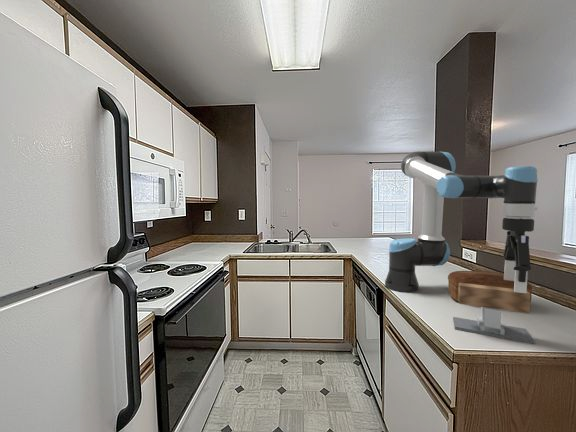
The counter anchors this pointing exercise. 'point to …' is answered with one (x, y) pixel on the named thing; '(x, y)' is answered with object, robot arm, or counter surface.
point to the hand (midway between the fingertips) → (514, 285)
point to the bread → (479, 281)
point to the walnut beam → (493, 297)
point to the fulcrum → (492, 326)
